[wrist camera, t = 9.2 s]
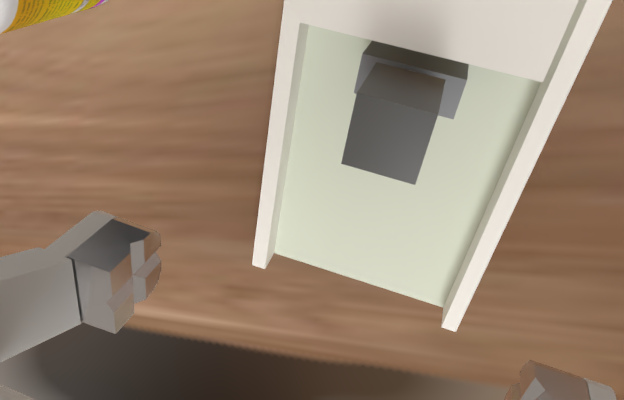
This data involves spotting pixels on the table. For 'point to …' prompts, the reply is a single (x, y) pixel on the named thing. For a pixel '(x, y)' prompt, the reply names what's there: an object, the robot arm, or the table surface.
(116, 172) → the table surface
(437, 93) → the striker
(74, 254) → the robot arm
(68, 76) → the table surface
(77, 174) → the table surface
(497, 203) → the tray
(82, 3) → the supplement bottle
